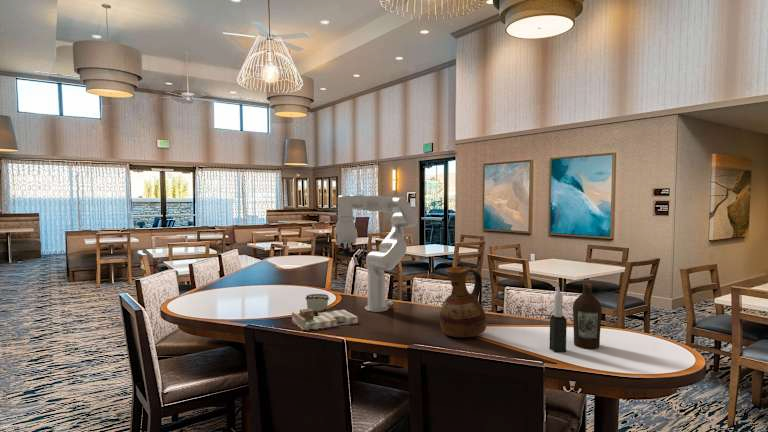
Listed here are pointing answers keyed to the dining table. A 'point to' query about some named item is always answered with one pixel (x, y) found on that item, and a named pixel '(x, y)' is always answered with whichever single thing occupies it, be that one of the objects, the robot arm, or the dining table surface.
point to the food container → (317, 303)
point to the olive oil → (587, 319)
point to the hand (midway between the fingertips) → (346, 255)
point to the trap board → (325, 320)
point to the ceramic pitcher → (462, 306)
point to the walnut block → (306, 314)
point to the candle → (558, 325)
